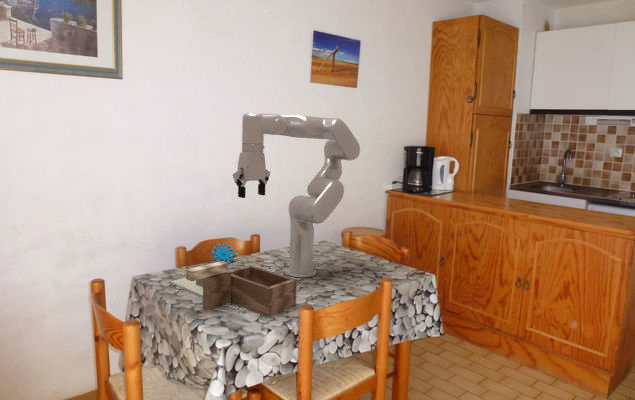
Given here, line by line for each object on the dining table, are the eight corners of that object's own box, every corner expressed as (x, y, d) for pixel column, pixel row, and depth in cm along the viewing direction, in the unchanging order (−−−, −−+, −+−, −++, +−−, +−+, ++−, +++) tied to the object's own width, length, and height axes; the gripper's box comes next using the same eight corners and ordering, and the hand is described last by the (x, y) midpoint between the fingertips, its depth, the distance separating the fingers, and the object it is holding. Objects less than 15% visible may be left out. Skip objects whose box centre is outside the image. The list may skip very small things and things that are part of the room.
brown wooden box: (250, 289, 171) (251, 261, 169) (295, 305, 157) (297, 275, 155) (199, 305, 153) (199, 274, 152) (245, 326, 140) (245, 292, 138)
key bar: (221, 269, 156) (221, 260, 156) (227, 271, 154) (227, 262, 154) (186, 279, 145) (186, 269, 145) (191, 281, 144) (192, 271, 143)
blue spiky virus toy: (211, 261, 196) (212, 241, 202) (209, 268, 200) (210, 248, 206) (237, 264, 199) (238, 244, 205) (235, 270, 204) (235, 250, 210)
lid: (200, 277, 183) (200, 262, 182) (237, 292, 169) (237, 276, 168) (170, 285, 173) (170, 269, 172) (207, 301, 159) (207, 284, 158)
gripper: (262, 147, 177) (261, 192, 180) (226, 148, 164) (226, 197, 166) (277, 149, 172) (276, 195, 175) (241, 149, 159) (240, 200, 162)
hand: (251, 196), depth 171 cm, fingers open, 9 cm apart
